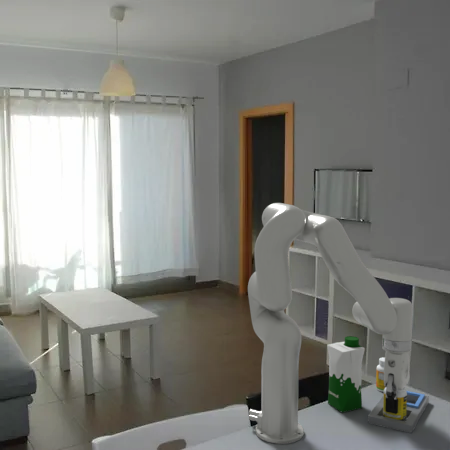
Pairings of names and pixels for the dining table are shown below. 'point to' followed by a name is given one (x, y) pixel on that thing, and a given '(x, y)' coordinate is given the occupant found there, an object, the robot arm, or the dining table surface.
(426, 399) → the organizer board
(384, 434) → the dining table surface
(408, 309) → the robot arm
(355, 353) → the milk carton
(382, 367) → the supplement bottle
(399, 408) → the pill bottle
